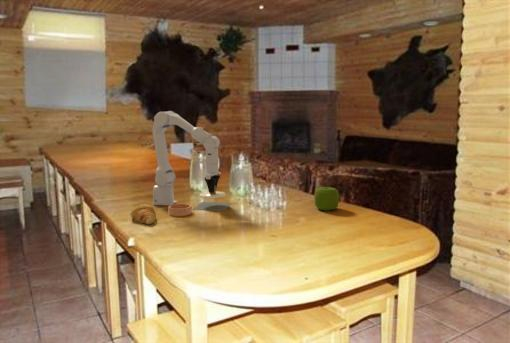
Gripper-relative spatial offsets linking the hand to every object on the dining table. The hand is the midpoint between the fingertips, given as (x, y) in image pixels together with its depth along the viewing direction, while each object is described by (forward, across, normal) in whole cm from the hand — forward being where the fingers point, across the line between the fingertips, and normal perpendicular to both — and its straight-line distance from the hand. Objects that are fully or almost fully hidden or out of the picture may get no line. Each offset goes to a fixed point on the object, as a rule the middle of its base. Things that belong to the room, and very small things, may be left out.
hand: (212, 191), depth 206 cm
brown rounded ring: (+7, -14, +11) cm, 19 cm away
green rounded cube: (+7, +5, -52) cm, 53 cm away
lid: (+2, 0, 0) cm, 2 cm away
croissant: (+8, -25, +23) cm, 35 cm away
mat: (+7, 0, 0) cm, 7 cm away
